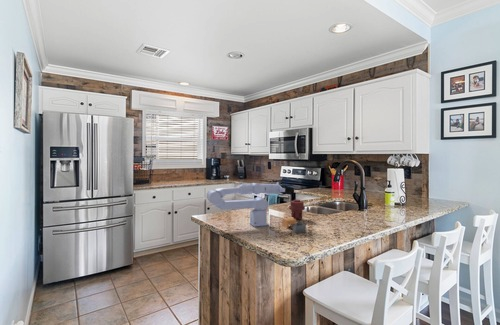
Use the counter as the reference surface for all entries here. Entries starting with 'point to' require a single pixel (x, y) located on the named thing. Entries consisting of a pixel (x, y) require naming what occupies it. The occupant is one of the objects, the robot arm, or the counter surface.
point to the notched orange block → (288, 222)
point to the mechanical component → (296, 209)
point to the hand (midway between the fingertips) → (290, 189)
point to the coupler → (298, 227)
